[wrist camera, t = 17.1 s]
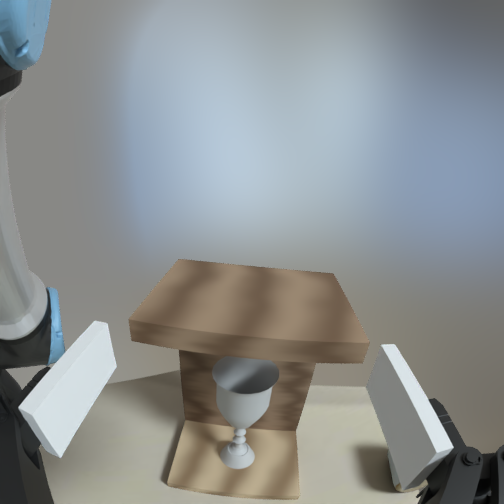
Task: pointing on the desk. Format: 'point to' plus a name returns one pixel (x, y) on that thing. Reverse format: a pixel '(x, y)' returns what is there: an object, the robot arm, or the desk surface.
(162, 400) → the desk surface
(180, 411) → the desk surface
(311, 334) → the walnut shelf
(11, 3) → the robot arm
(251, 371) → the chalice
